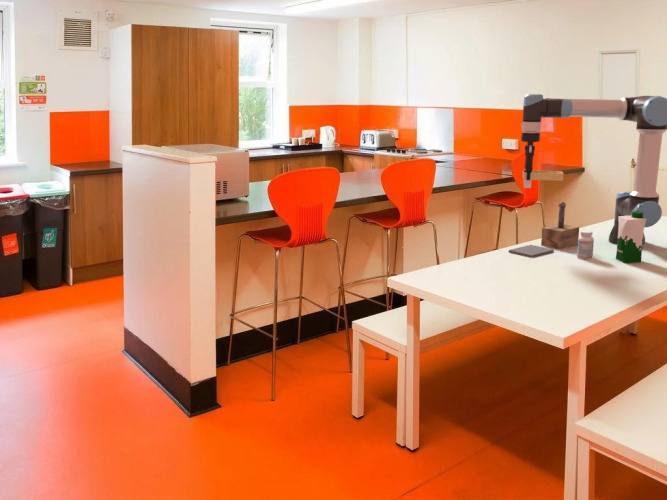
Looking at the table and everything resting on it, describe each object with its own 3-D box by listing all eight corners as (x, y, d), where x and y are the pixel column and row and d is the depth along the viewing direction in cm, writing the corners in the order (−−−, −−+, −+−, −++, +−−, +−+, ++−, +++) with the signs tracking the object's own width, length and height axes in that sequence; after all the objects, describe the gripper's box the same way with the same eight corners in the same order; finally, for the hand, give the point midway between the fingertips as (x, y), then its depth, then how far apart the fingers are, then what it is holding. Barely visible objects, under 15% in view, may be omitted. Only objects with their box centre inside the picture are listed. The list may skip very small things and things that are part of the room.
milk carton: (644, 263, 268) (649, 214, 264) (622, 263, 268) (627, 214, 263) (633, 257, 277) (637, 210, 272) (612, 258, 276) (616, 210, 271)
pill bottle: (580, 255, 282) (582, 229, 280) (594, 257, 278) (597, 231, 275) (574, 257, 278) (576, 231, 275) (588, 260, 274) (590, 233, 271)
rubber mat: (553, 251, 288) (553, 249, 288) (531, 257, 280) (531, 255, 279) (530, 246, 298) (530, 244, 297) (508, 252, 289) (508, 250, 289)
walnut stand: (578, 244, 300) (581, 201, 295) (560, 249, 292) (563, 205, 288) (559, 240, 308) (561, 198, 303) (541, 245, 300) (543, 202, 296)
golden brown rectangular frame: (563, 180, 277) (563, 173, 277) (523, 179, 281) (523, 172, 280) (561, 178, 285) (562, 171, 284) (522, 177, 289) (523, 170, 288)
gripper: (521, 130, 290) (517, 182, 296) (522, 133, 271) (518, 189, 276) (539, 130, 289) (535, 182, 294) (541, 134, 269) (537, 190, 275)
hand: (527, 186), depth 285 cm, fingers closed on golden brown rectangular frame, 8 cm apart
